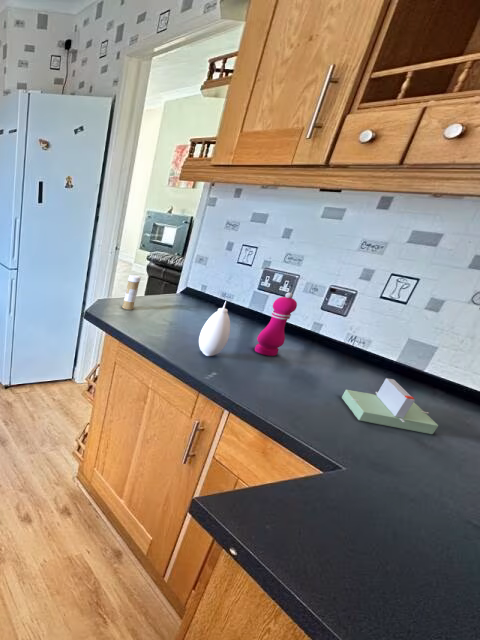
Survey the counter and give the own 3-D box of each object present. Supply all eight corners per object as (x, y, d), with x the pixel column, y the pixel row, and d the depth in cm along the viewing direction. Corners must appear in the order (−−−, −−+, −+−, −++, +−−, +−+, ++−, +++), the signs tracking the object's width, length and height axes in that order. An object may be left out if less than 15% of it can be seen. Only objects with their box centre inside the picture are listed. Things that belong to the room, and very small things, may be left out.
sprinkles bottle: (121, 306, 175) (128, 274, 168) (133, 307, 174) (140, 275, 167) (122, 309, 171) (129, 276, 164) (134, 310, 170) (141, 277, 163)
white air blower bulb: (192, 348, 137) (209, 295, 128) (218, 351, 135) (236, 298, 126) (196, 358, 130) (214, 302, 121) (224, 361, 128) (244, 305, 120)
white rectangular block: (376, 395, 107) (386, 377, 104) (383, 396, 106) (394, 378, 104) (394, 416, 98) (406, 397, 95) (403, 418, 97) (415, 399, 95)
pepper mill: (257, 355, 133) (281, 294, 124) (249, 346, 139) (272, 288, 130) (282, 357, 132) (309, 296, 122) (273, 349, 138) (298, 290, 128)
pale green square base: (407, 406, 107) (413, 398, 106) (439, 438, 95) (446, 429, 93) (336, 394, 112) (341, 385, 111) (358, 423, 99) (363, 414, 98)
